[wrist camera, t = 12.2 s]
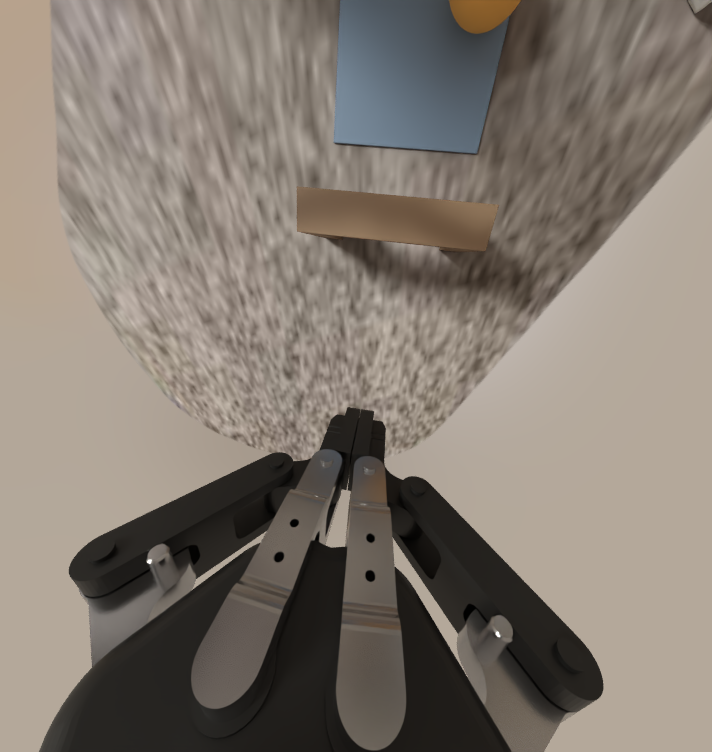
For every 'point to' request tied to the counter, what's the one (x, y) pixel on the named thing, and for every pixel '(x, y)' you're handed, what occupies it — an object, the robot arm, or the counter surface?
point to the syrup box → (698, 4)
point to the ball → (481, 13)
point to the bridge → (395, 219)
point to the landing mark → (412, 76)
